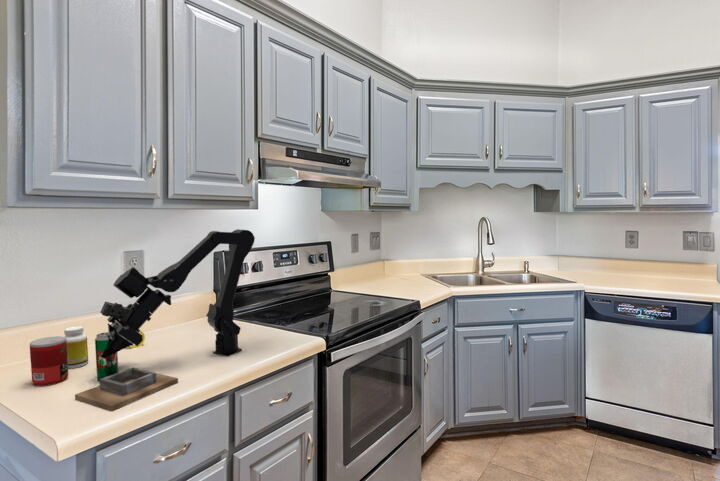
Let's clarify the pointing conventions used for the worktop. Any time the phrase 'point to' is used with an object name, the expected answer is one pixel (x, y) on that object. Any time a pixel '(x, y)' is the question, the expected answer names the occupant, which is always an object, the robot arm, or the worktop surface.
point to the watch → (141, 342)
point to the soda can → (109, 363)
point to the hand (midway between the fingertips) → (100, 354)
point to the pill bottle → (76, 347)
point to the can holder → (125, 388)
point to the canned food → (49, 360)
